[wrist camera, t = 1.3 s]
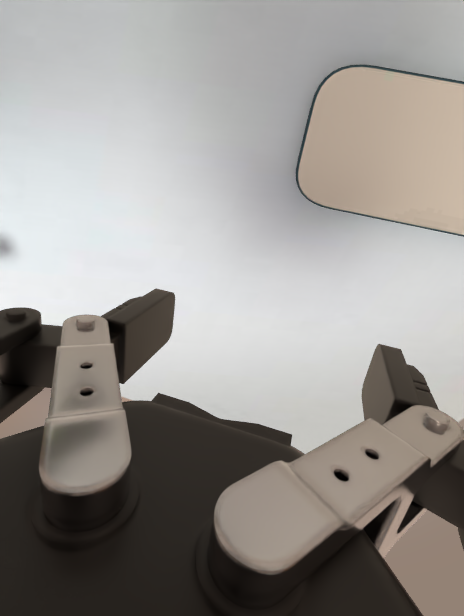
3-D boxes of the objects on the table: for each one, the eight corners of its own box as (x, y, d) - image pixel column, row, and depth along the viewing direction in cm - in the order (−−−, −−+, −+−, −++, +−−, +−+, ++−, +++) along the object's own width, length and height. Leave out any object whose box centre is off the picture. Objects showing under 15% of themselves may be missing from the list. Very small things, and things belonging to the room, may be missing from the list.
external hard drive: (613, 111, 28) (634, 110, 26) (528, 246, 33) (540, 253, 32) (321, 59, 29) (323, 55, 27) (288, 197, 35) (288, 201, 33)
